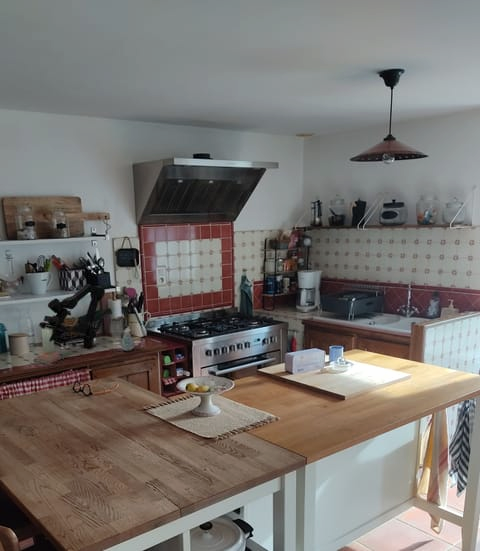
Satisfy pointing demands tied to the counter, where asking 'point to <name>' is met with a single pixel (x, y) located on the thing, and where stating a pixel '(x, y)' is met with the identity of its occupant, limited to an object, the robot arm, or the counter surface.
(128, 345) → the toy figure
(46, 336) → the column brick
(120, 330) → the coffee box
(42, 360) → the tower base
